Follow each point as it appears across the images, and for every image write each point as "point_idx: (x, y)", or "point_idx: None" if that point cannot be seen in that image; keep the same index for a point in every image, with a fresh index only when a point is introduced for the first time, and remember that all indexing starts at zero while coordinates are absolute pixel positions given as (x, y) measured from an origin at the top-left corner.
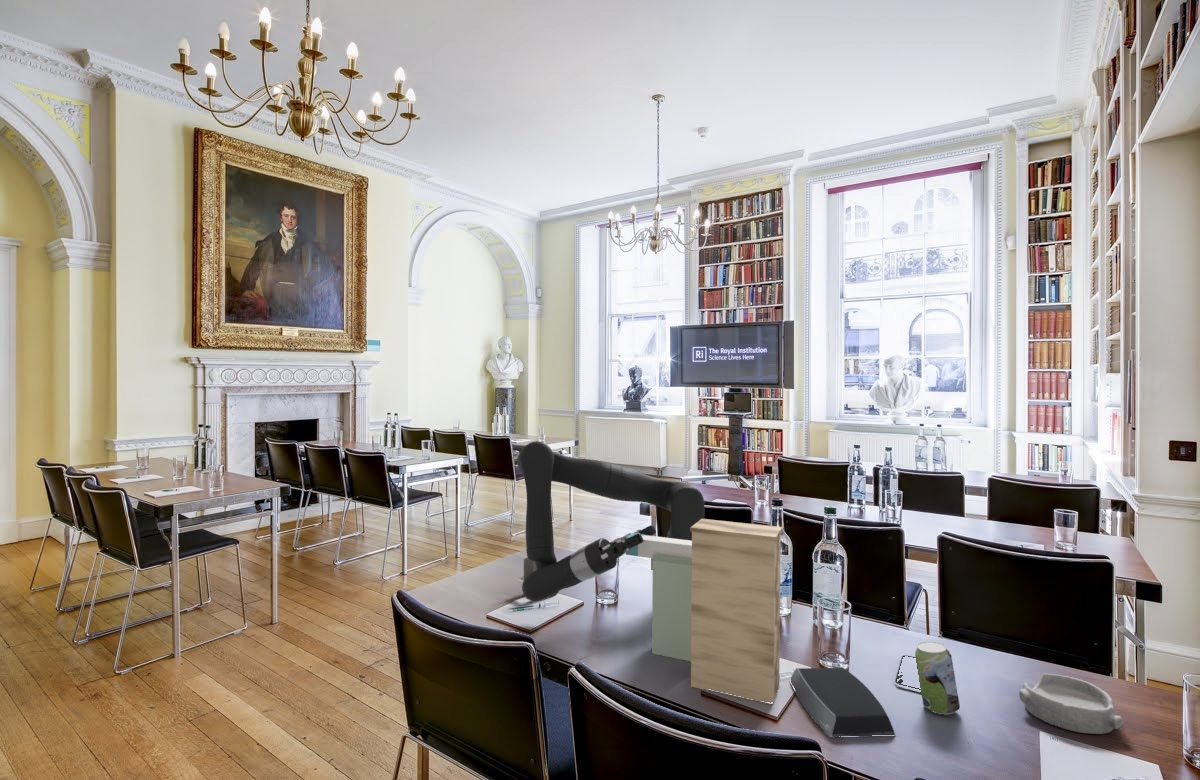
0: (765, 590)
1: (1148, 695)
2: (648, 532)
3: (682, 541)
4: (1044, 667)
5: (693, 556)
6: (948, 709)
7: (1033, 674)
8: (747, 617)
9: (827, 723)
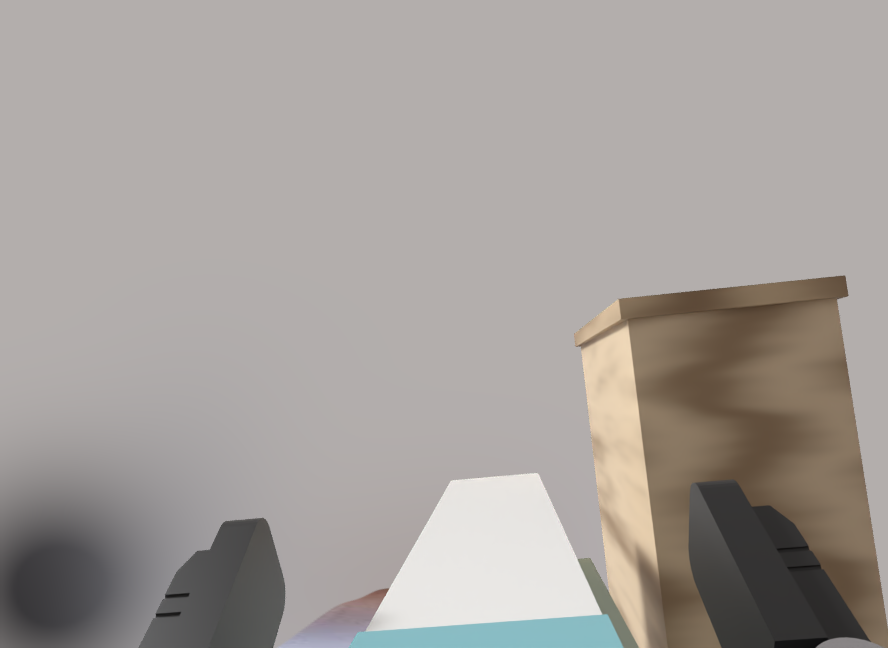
0: None
1: (376, 594)
2: (254, 627)
3: (477, 521)
4: (316, 630)
5: (851, 426)
6: None
7: (347, 635)
8: None
9: None
